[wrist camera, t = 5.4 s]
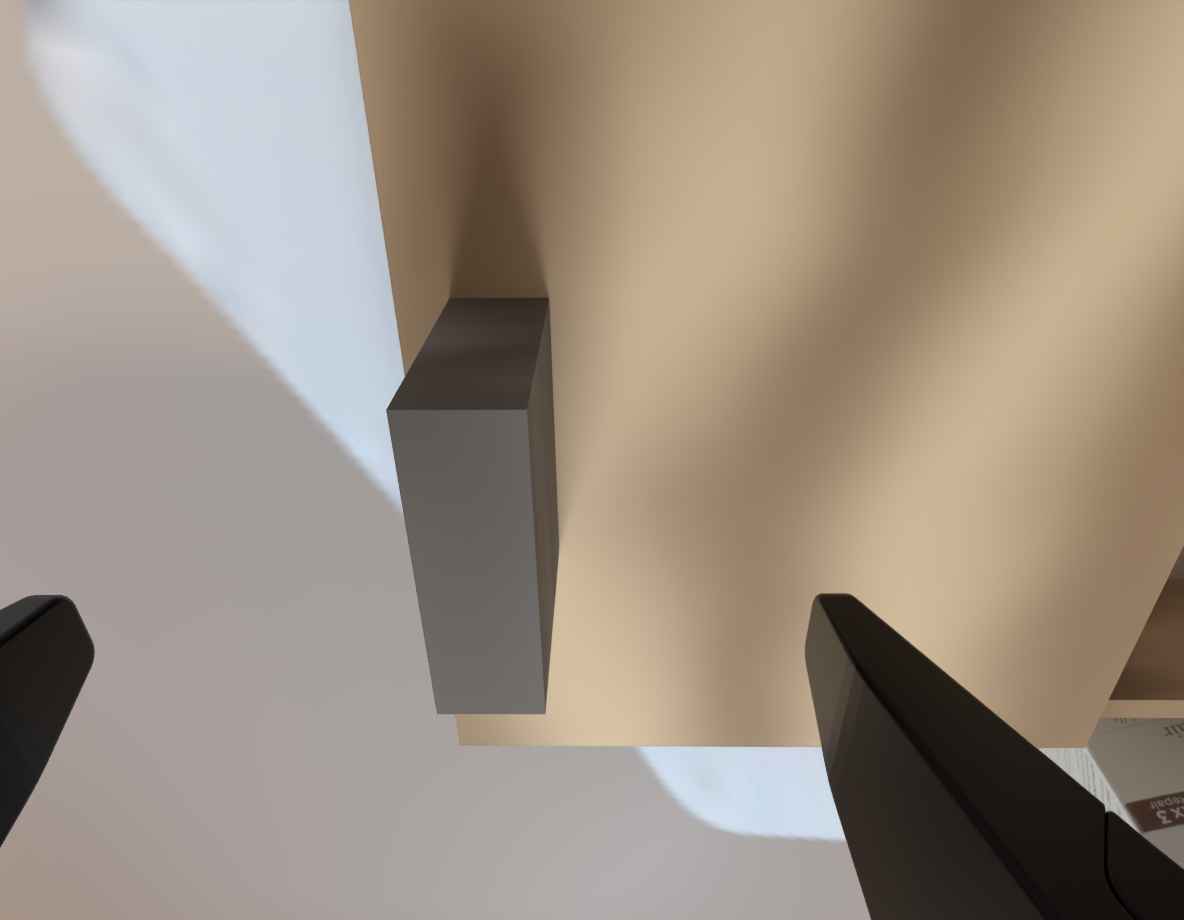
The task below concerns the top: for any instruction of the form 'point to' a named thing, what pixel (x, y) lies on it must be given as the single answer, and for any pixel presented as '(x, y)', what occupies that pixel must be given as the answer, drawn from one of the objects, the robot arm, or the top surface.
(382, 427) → the top surface
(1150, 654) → the brown piece
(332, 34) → the top surface
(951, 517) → the lid
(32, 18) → the top surface
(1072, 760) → the skincare box
